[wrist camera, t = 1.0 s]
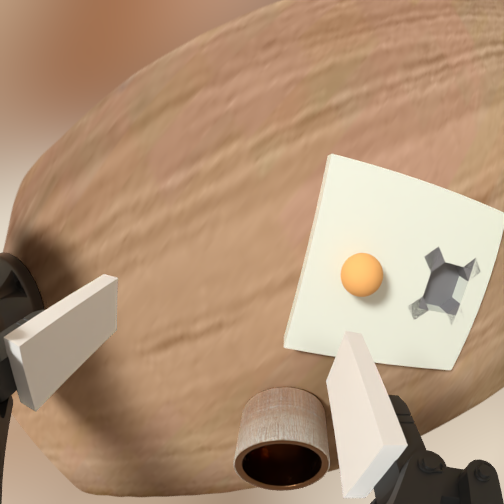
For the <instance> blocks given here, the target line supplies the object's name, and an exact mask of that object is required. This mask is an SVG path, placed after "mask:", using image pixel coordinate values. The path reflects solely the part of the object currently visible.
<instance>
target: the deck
mask: <svg viewBox="0 0 504 504" xmlns="http://www.w3.org/2000/svg"><path fill="white" fill-rule="evenodd" d="M503 230H504V213H503V212H501V211H499V210H497V209H494V208H492V207H490V206H487V205H485V204H483V203H480V202H478V201H475V200H473V199H470V198H468V197H465V196H463V195H460V194H458V193H455V192H452V191H450V190H447V189H444V188H442V187H439V186H436V185H433V184H431V183H428V182H425V181H422V180H419V179H416V178H413V177H410V176H407V175H404V174H401V173H398V172H395V171H391V170H388V169H385V168H382V167H378V166H375V165H371V164H368V163H364V162H361V161H357V160H354V159H350V158H346V157H342V156H338V155H334V154H330V155H328V157H327V162H326V167H325V172H324V176H323V181H322V186H321V190H320V195H319V199H318V204H317V208H316V213H315V217H314V222H313V226H312V230H311V234H310V239H309V243H308V247H307V251H306V255H305V259H304V263H303V267H302V271H301V275H300V279H299V283H298V287H297V291H296V294H295V298H294V302H293V306H292V309H291V313H290V317H289V320H288V324H287V328H286V331H285V335H284V348H289V349H294V350H300V351H305V352H310V353H316V354H322V355H328V356H334V357H336V355H337V352H338V349H339V347H340V344H341V341H342V339H343V336H344V333H345V331H349V332H355V333H361V334H362V336H363V338H364V340H365V343H366V345H367V347H368V349H369V352H370V354H371V356H372V358H373V361H374V362H375V363H383V364H391V365H400V366H409V367H419V368H430V369H442V370H452V368H453V366H454V364H455V362H456V360H457V358H458V356H459V354H460V351H461V349H462V347H463V345H464V343H465V341H466V338H467V336H468V334H469V332H470V329H471V327H472V325H473V322H474V320H475V317H476V315H477V312H478V310H479V307H480V304H481V302H482V299H483V296H484V294H485V291H486V288H487V285H488V282H489V279H490V276H491V273H492V270H493V266H494V263H495V260H496V256H497V253H498V249H499V245H500V242H501V238H502V234H503ZM357 253H367V254H370V255H372V256H374V257H375V258H376V259H377V260H378V261H379V262H380V264H381V266H382V269H383V280H382V283H381V285H380V287H379V289H378V290H377V291H376V292H374V293H373V294H371V295H369V296H366V297H358V296H354V295H352V294H350V293H349V292H348V291H347V290H346V289H345V288H344V286H343V284H342V281H341V269H342V266H343V264H344V262H345V261H346V260H347V259H348V258H349V257H350V256H352V255H354V254H357Z"/></svg>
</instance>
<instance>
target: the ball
mask: <svg viewBox="0 0 504 504" xmlns="http://www.w3.org/2000/svg"><path fill="white" fill-rule="evenodd" d="M382 280H383V269H382V266H381V264H380V262H379V261H378V260H377V259H376V258H375V257H374V256H372V255H370V254H367V253H357V254H354V255H352V256H350V257H349V258H348V259H347V260H346V261H345V262H344V264H343V266H342V269H341V281H342V284H343V286H344V288H345V289H346V290H347V291H348V292H349V293H350V294H352V295H354V296H358V297H366V296H369V295H371V294H373V293H374V292H376V291H377V290H378V289H379V287H380V285H381V283H382Z"/></svg>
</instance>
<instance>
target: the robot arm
mask: <svg viewBox="0 0 504 504" xmlns="http://www.w3.org/2000/svg"><path fill="white" fill-rule="evenodd" d="M117 292H118V278H116V277H113V276H109V275H106V274H103V275H102V276H100V277H98V278H97V279H95V280H93V281H92V282H90V283H88V284H87V285H85V286H83V287H82V288H80V289H78V290H77V291H75V292H73V293H72V294H70V295H69V296H67V297H65V298H64V299H62V300H60V301H59V302H57V303H56V304H54V305H52V306H51V307H49V308H48V309H46V310H44V308H43V303H42V299H41V296H40V293H39V290H38V288H37V286H36V283H35V281H34V279H33V278H32V276H31V274H30V273H29V271H28V270H27V268H26V267H25V266H24V264H23V263H22V262H21V261H20V260H19V259H17V258H16V257H15V256H13V255H11V254H9V253H0V504H1V500H2V479H3V466H4V457H5V449H6V442H7V435H8V429H9V423H10V417H11V412H12V407H13V399H12V396H11V395H12V394H13V393H14V392H15V391H16V390H17V392H18V395H19V398H20V402H21V403H23V404H24V405H26V406H28V407H29V408H31V409H32V410H34V411H37V410H38V409H39V408H40V407H41V406H42V405H43V404H44V403H45V402H46V401H47V400H48V399H49V398H50V396H51V395H52V394H53V393H54V392H55V391H56V390H57V389H58V388H59V387H60V386H61V385H62V384H63V383H64V382H65V381H66V380H67V379H68V378H69V377H70V376H71V375H72V374H73V373H74V372H75V371H76V370H77V369H78V368H79V367H80V366H81V365H82V364H83V363H84V362H85V361H86V360H87V359H88V358H89V357H90V356H91V355H92V354H93V353H94V352H95V351H96V350H97V349H98V348H99V347H100V346H101V345H102V344H103V343H104V342H105V341H106V340H107V339H108V338H109V337H110V336H111V335H112V334H113V333H114V332H115V331H116V330H117ZM326 383H327V389H328V395H329V401H330V407H331V413H332V419H333V426H334V432H335V439H336V446H337V453H338V460H339V467H340V475H341V483H342V491H343V498H366V496H367V495H368V494H369V493H370V492H371V491H372V490H373V489H374V492H375V497H376V498H375V499H374V500H373V501H372V502H371V503H370V504H504V503H503V498H502V493H501V488H500V483H499V479H498V475H497V472H496V470H495V468H494V467H493V466H492V465H491V464H490V463H488V462H486V461H483V460H474V461H472V462H470V463H469V465H468V466H467V467H466V468H465V469H464V470H463V469H456V468H450V467H446V464H445V462H444V460H443V459H442V458H441V457H440V456H439V455H438V454H436V453H434V452H432V451H427V450H426V448H425V446H424V443H423V441H422V439H421V436H420V434H419V432H418V429H417V427H416V425H415V424H414V420H413V418H412V416H410V415H411V413H410V411H409V409H408V407H407V405H406V404H405V403H404V401H403V400H402V399H401V398H400V397H399V396H395V395H388V394H387V391H386V389H385V386H384V384H383V382H382V379H381V377H380V375H379V372H378V370H377V368H376V365H375V363H374V361H373V358H372V356H371V354H370V352H369V349H368V347H367V345H366V343H365V340H364V338H363V336H362V334H361V333H355V332H349V331H345V333H344V336H343V339H342V341H341V344H340V347H339V349H338V352H337V355H336V357H335V360H334V363H333V365H332V368H331V370H330V373H329V375H328V378H327V380H326Z"/></svg>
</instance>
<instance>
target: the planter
mask: <svg viewBox="0 0 504 504" xmlns="http://www.w3.org/2000/svg"><path fill="white" fill-rule="evenodd" d="M329 467H330V456H329V447H328V436H327V426H326V416H325V411H324V408H323V405H322V403H321V402H320V401H319V399H318V398H316V397H315V396H314V395H313V394H311V393H309V392H307V391H305V390H302V389H298V388H292V387H277V388H271V389H267V390H264V391H262V392H260V393H258V394H256V395H255V396H253V397H252V398H251V399H250V400H249V401H248V402H247V404H246V405H245V407H244V410H243V413H242V418H241V423H240V429H239V435H238V441H237V447H236V452H235V457H234V469H235V471H236V473H237V474H238V475H239V476H240V477H241V478H242V479H243V480H244V481H246V482H248V483H249V484H251V485H254V486H256V487H260V488H263V489H268V490H280V491H283V490H294V489H299V488H303V487H306V486H309V485H311V484H313V483H315V482H317V481H318V480H320V479H321V478H322V477H323V476H324V475H325V474H326V473H327V472H328V470H329Z"/></svg>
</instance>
